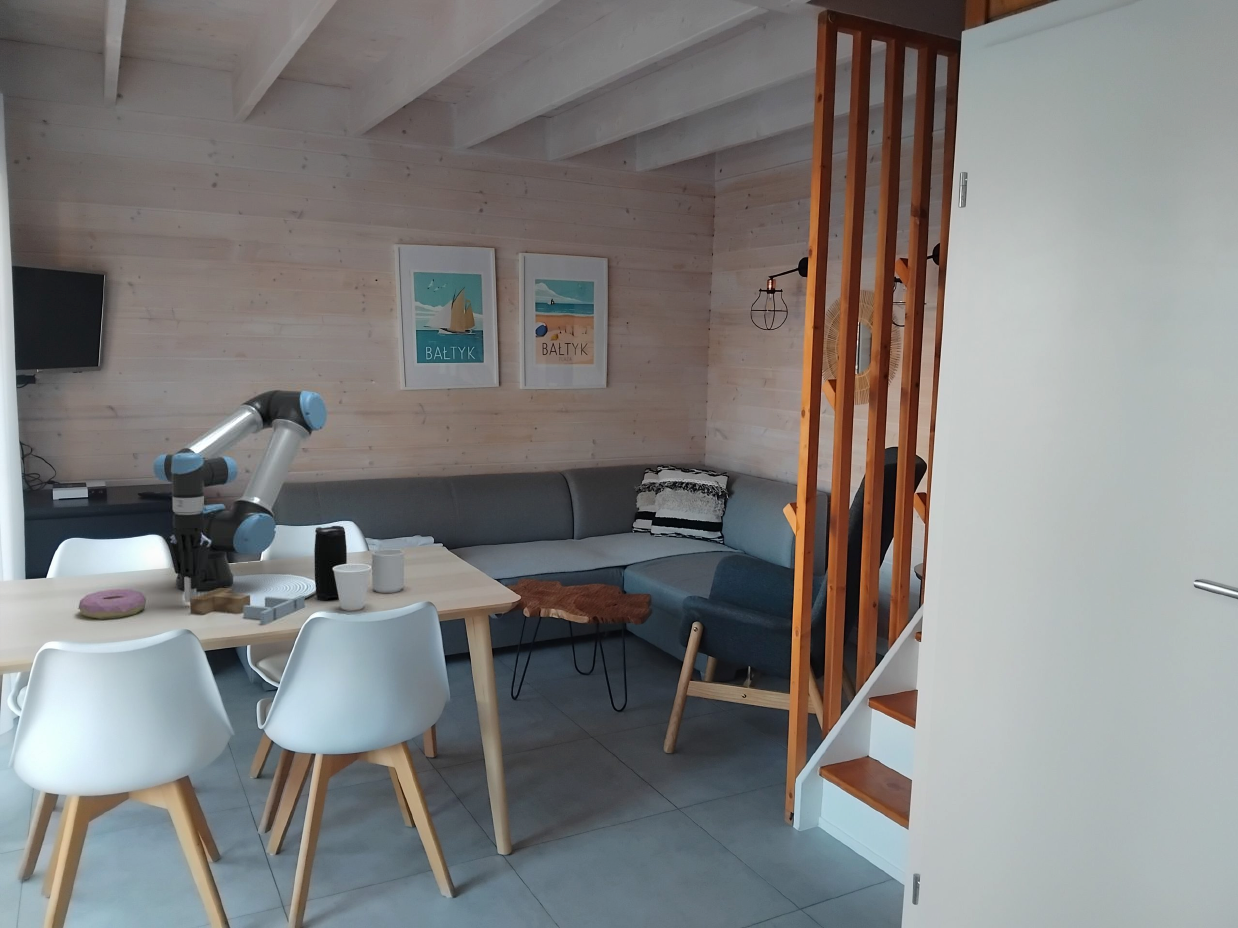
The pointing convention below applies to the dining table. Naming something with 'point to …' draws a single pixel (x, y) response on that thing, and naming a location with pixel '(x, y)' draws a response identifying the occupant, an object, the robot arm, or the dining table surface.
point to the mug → (387, 570)
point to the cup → (352, 585)
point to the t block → (219, 602)
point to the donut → (112, 603)
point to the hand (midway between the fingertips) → (190, 600)
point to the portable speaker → (328, 559)
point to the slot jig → (273, 608)
